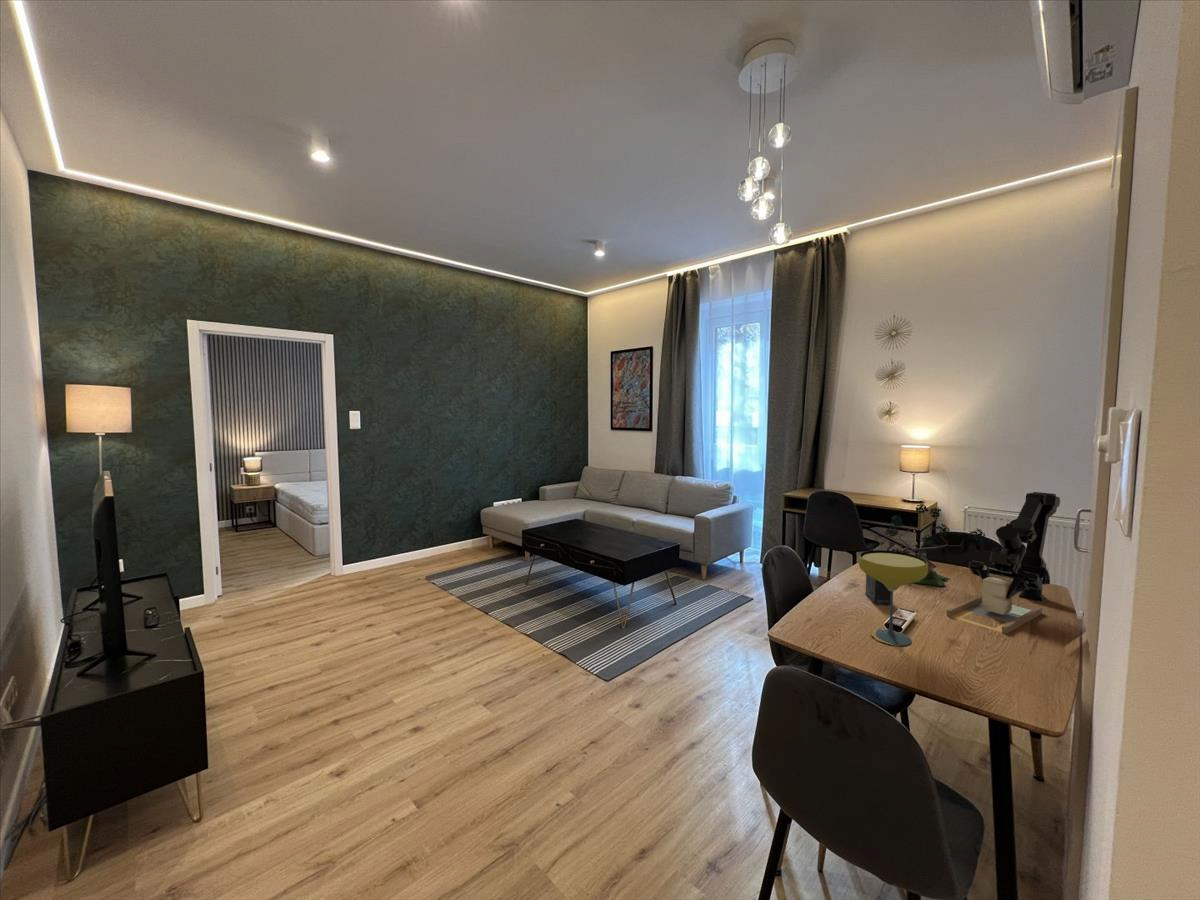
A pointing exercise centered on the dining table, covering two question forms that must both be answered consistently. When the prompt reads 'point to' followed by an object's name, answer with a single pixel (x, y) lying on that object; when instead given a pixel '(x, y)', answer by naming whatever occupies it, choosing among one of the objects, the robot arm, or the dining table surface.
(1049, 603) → the dining table surface
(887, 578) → the cocktail glass
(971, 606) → the trough deck
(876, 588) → the small box
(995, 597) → the maple block
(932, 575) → the bonsai tree
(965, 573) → the dining table surface
